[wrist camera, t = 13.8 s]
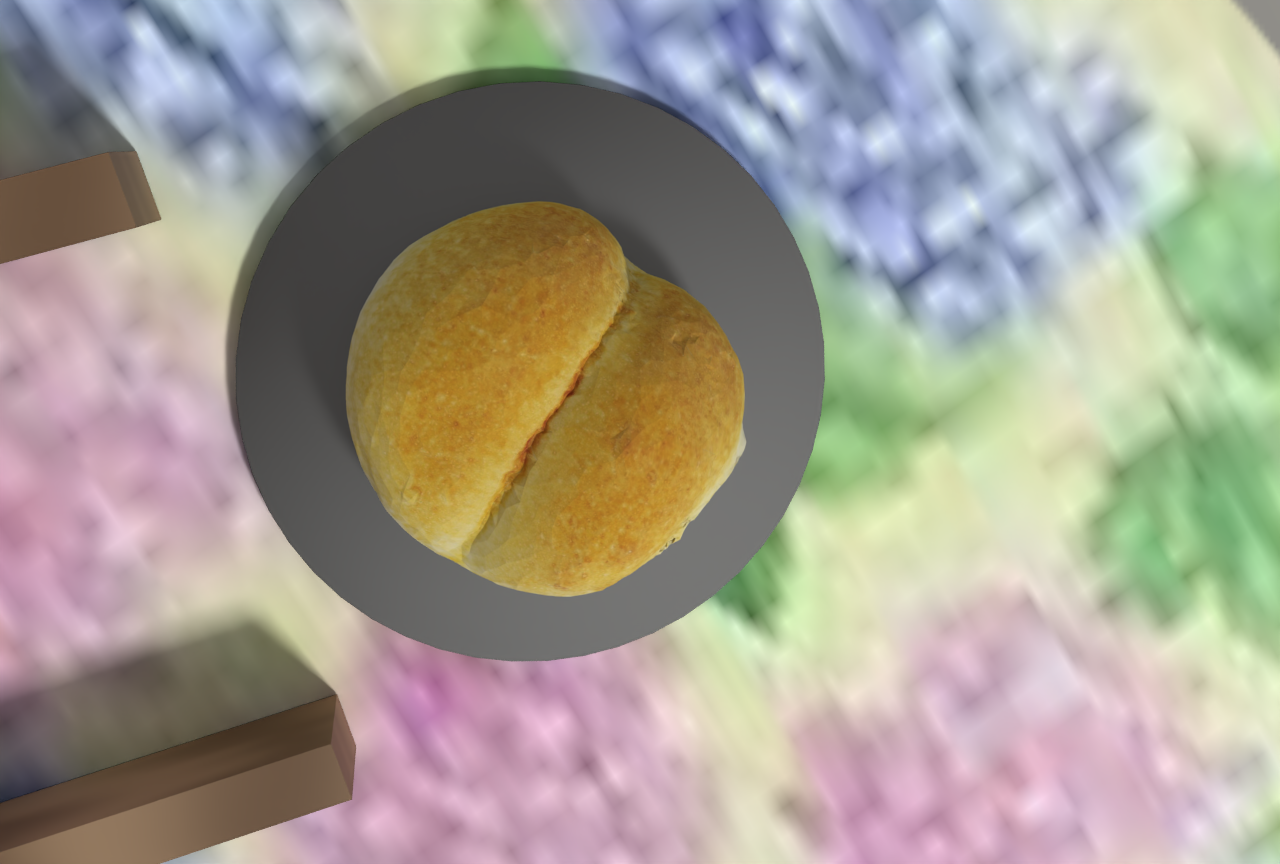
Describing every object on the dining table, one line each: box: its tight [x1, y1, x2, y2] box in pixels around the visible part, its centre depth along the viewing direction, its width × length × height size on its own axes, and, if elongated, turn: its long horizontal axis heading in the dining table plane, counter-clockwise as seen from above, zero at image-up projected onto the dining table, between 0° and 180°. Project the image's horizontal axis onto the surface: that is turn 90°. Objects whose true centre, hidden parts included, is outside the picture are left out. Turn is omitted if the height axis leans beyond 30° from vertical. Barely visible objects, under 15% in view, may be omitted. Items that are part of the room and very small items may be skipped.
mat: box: [236, 81, 825, 661], centre depth 28 cm, size 14×14×1 cm
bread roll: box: [346, 201, 746, 597], centre depth 26 cm, size 8×9×4 cm
